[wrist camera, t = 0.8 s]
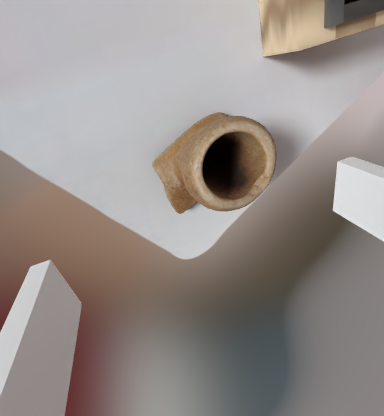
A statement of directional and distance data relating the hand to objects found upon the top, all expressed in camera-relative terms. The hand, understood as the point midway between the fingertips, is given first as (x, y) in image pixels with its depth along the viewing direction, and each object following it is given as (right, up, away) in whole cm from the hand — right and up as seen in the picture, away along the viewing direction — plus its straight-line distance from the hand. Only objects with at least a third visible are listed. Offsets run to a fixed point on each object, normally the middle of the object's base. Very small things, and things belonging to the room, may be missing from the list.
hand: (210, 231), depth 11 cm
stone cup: (-1, +9, +27) cm, 28 cm away
